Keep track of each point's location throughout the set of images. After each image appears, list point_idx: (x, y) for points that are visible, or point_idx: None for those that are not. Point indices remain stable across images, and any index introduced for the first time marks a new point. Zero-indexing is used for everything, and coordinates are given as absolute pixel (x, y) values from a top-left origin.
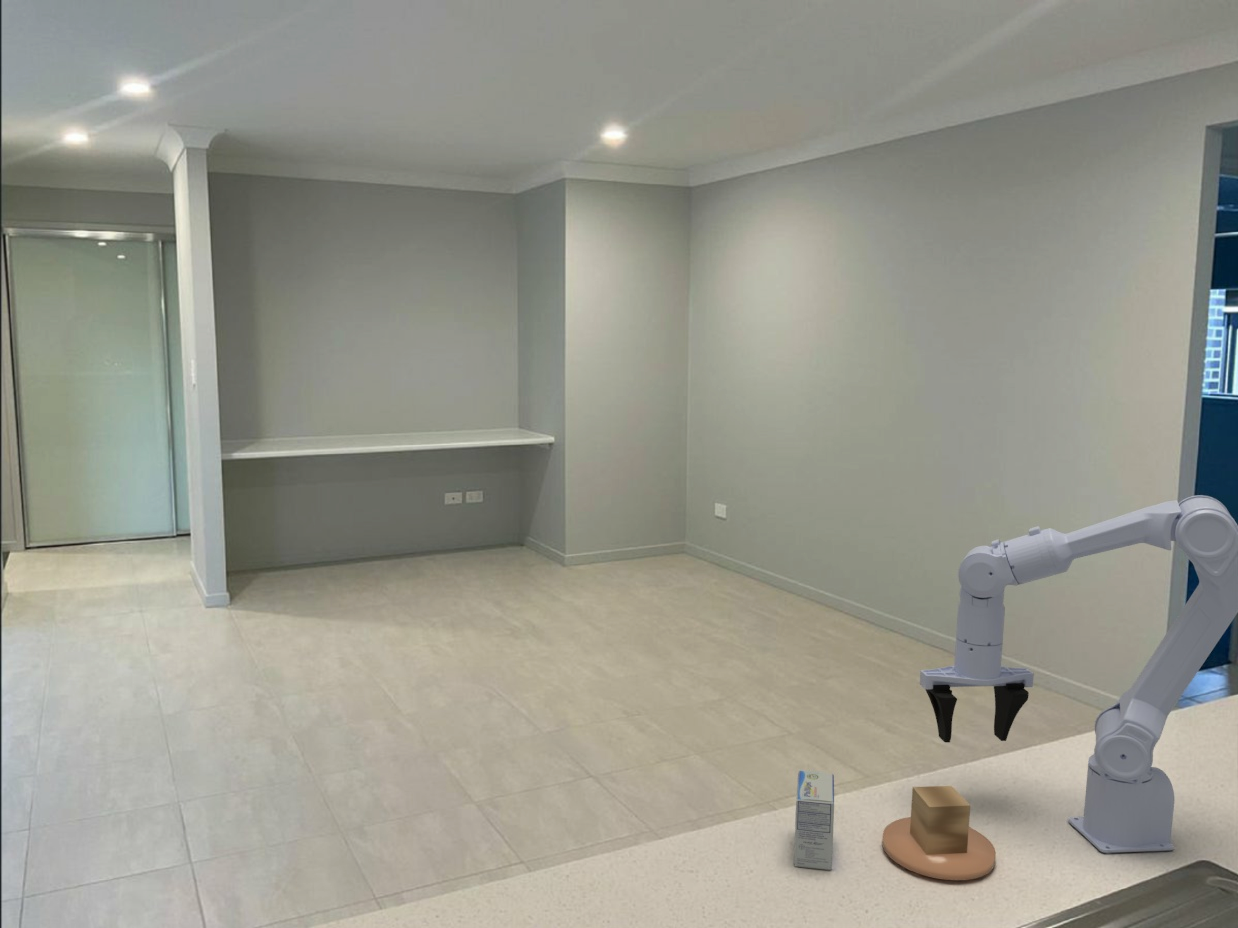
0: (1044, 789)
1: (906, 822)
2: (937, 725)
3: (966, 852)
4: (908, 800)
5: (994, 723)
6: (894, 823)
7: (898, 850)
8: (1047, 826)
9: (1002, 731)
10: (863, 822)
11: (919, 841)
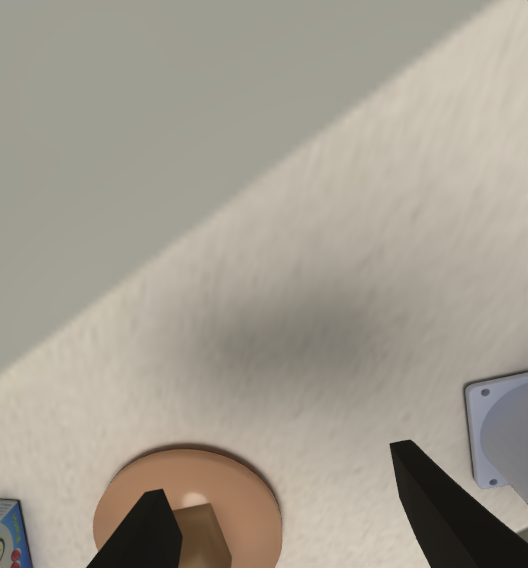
0: (477, 241)
1: (134, 485)
2: (111, 537)
3: (231, 557)
4: (152, 349)
5: (413, 480)
6: (112, 492)
7: None
8: (414, 406)
9: (422, 543)
10: (68, 445)
11: None
